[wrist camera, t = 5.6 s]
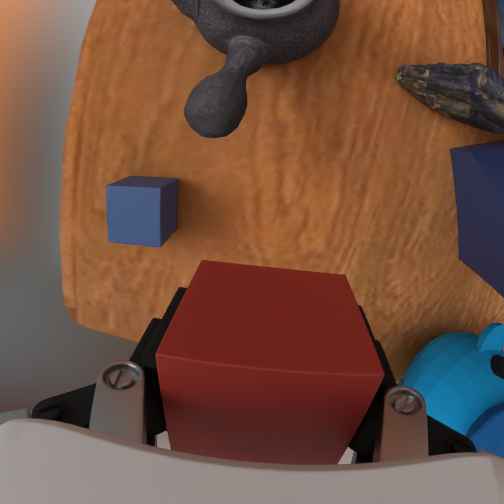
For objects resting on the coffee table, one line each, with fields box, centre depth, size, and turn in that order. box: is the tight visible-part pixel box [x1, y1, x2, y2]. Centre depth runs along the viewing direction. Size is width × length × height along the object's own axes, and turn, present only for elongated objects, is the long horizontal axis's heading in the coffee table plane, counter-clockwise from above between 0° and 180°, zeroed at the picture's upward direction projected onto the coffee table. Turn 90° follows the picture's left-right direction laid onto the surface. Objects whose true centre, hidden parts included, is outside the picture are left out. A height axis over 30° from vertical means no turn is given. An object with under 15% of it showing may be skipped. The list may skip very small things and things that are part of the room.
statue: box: [396, 63, 504, 134], centre depth 17 cm, size 6×12×15 cm, turn 77°
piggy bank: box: [397, 323, 504, 458], centre depth 26 cm, size 15×17×15 cm
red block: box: [156, 260, 384, 465], centre depth 9 cm, size 5×5×5 cm
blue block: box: [106, 176, 178, 247], centre depth 27 cm, size 5×5×5 cm
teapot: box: [171, 0, 339, 138], centre depth 19 cm, size 19×15×10 cm
